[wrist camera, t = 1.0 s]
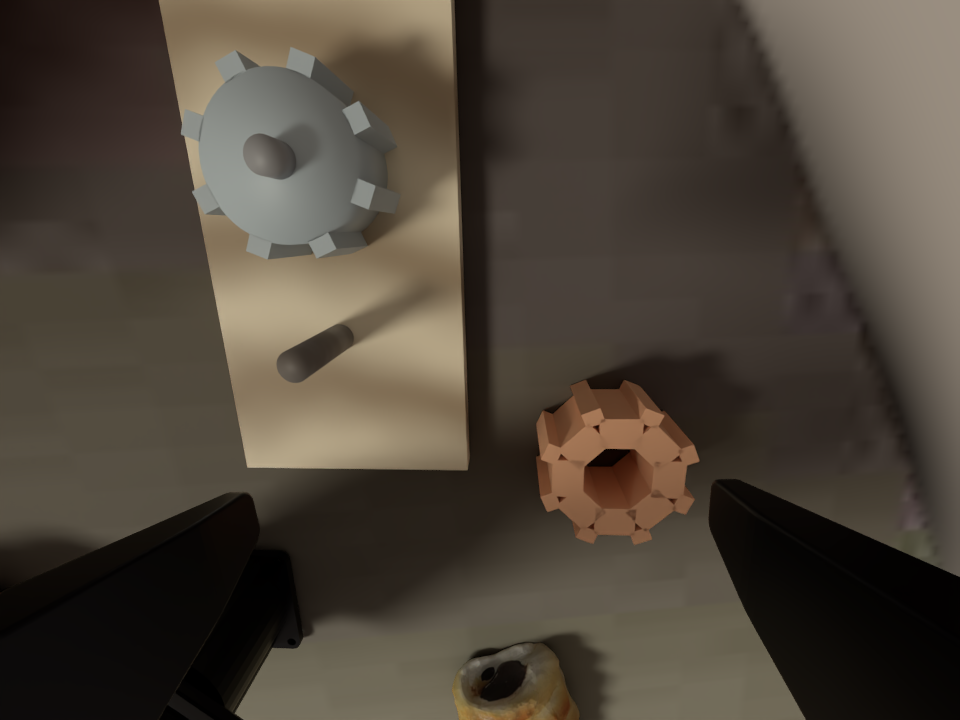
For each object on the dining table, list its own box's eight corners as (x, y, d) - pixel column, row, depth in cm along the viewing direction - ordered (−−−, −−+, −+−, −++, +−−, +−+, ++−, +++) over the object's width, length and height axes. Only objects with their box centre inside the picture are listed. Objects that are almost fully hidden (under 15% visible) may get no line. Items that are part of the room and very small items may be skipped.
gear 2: (662, 499, 22) (688, 546, 19) (535, 496, 23) (539, 542, 19) (674, 379, 20) (706, 408, 17) (536, 379, 21) (541, 407, 18)
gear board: (469, 458, 22) (456, 531, 17) (260, 455, 23) (183, 525, 18) (454, -15, 17) (426, -133, 11) (179, 3, 18) (30, -100, 12)
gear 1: (405, 252, 19) (372, 259, 14) (259, 255, 19) (185, 262, 15) (392, 80, 17) (352, 27, 12) (232, 88, 17) (139, 40, 13)
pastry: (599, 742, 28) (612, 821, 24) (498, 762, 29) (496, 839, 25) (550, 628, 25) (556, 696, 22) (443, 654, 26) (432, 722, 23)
